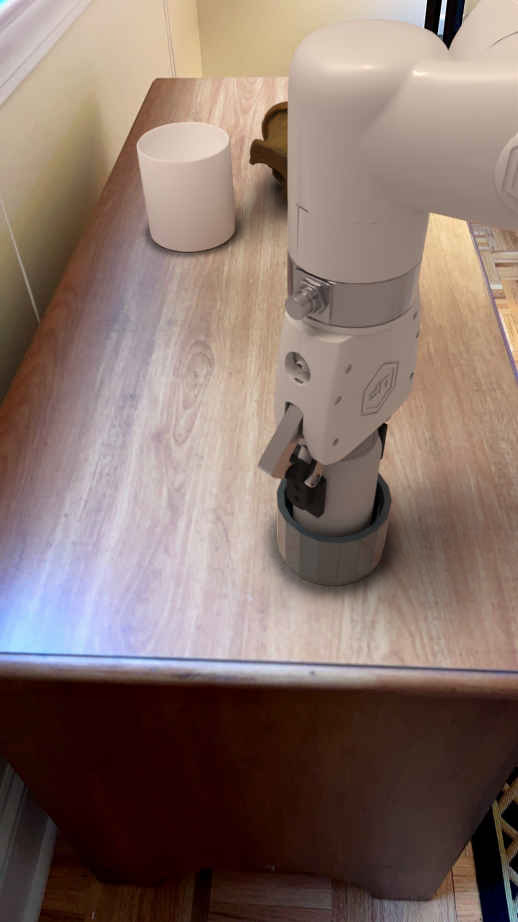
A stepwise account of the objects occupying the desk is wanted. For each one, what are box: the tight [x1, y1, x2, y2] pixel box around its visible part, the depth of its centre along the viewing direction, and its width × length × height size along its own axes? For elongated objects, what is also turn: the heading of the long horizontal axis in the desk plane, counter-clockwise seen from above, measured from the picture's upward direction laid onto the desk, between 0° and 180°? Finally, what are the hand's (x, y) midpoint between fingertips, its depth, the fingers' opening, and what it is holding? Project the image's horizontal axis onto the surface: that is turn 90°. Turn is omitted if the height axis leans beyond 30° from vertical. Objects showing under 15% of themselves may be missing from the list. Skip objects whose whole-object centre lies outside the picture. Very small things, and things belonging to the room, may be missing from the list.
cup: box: [136, 121, 236, 253], centre depth 90 cm, size 12×12×12 cm
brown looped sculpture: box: [248, 100, 288, 205], centre depth 95 cm, size 18×13×22 cm
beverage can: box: [293, 429, 382, 537], centre depth 54 cm, size 6×6×12 cm
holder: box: [276, 471, 393, 586], centre depth 57 cm, size 9×9×6 cm
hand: (335, 477), depth 53 cm, fingers closed on beverage can, 6 cm apart
